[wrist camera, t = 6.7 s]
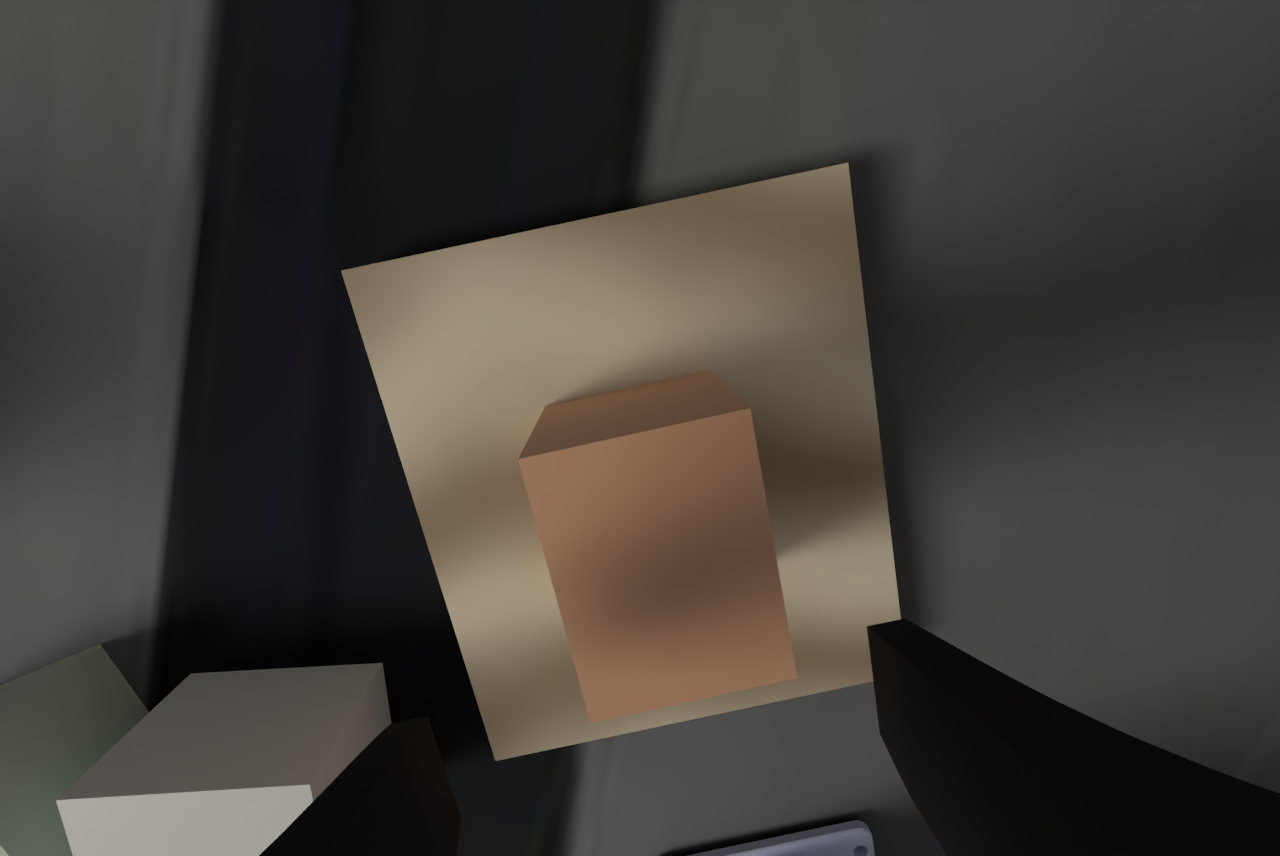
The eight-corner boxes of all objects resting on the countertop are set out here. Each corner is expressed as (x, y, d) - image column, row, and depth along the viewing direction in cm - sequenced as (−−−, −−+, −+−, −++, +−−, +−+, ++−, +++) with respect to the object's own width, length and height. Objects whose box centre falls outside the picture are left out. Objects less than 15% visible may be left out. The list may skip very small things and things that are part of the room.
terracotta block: (746, 570, 18) (797, 678, 13) (595, 603, 18) (590, 723, 13) (709, 370, 16) (750, 407, 12) (544, 406, 17) (517, 459, 12)
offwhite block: (383, 661, 20) (310, 784, 15) (400, 778, 21) (337, 928, 16) (192, 671, 20) (55, 800, 15) (220, 789, 21) (100, 944, 16)
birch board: (886, 646, 20) (907, 673, 19) (503, 726, 21) (495, 760, 19) (827, 172, 17) (848, 162, 15) (364, 271, 17) (340, 270, 15)
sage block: (206, 787, 21) (81, 943, 16) (87, 834, 21) (-71, 1002, 16) (102, 642, 19) (-69, 763, 14) (-24, 693, 19) (-234, 830, 15)
